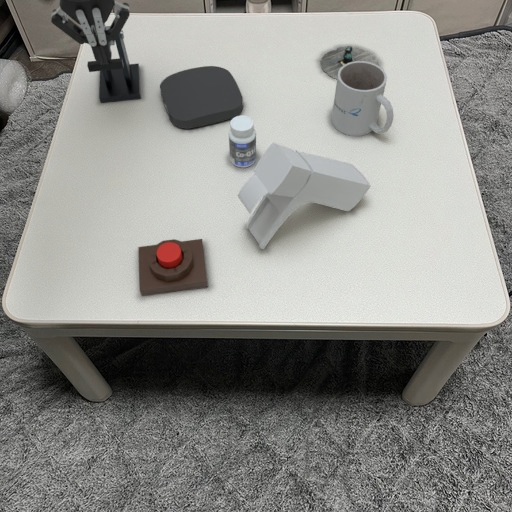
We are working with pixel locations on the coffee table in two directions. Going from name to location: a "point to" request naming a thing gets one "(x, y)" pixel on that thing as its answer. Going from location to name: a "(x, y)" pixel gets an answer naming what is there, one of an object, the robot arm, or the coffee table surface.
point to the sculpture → (344, 59)
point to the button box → (172, 269)
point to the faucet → (296, 188)
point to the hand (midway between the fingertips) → (104, 61)
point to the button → (169, 255)
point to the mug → (360, 99)
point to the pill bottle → (242, 141)
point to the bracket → (120, 78)
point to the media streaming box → (201, 96)
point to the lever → (112, 64)
